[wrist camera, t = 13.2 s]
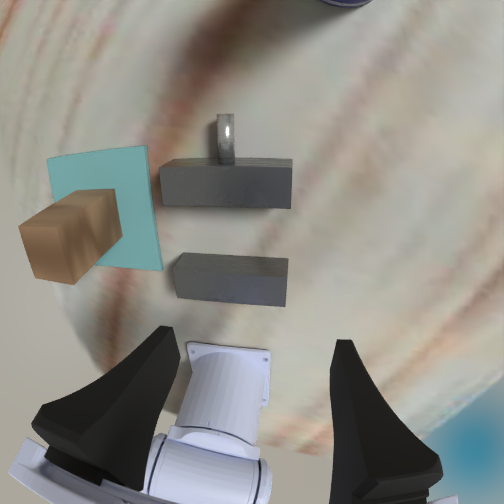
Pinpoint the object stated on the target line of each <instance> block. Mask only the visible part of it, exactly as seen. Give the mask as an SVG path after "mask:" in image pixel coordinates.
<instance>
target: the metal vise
mask: <svg viewBox="0 0 504 504" xmlns="http://www.w3.org/2000/svg"><path fill="white" fill-rule="evenodd" d="M217 136H218V158H187V159H173V160H171V161H169V162H168V163H166V164H164V165H162V166H161V167H159V173H160V183H161V192H162V200H163V205H174V206H228V207H258V208H281V209H291V191H292V159H276V158H235V151H234V114H217ZM287 274H288V259H286V258H268V257H251V256H233V255H216V254H199V253H183V254H182V256H181V257H180V259H179V260H178V262H177V263H176V265H175V266H174V268H173V276H174V282H175V287H176V293H177V298H184V299H193V300H204V301H214V302H226V303H238V304H250V305H264V306H279V307H285V304H286V290H287Z"/></svg>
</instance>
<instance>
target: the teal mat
mask: <svg viewBox="0 0 504 504" xmlns="http://www.w3.org/2000/svg"><path fill="white" fill-rule="evenodd" d="M47 166H48V172H49V177H50V183H51V188H52V193H53V198H54V202H57V201H59V200H60V199H62V198H64V197H65V196H67V195H69V194H71V193H72V192H74V191H76V190H90V189H115V194H116V200H117V206H118V212H119V218H120V224H121V229H122V234H123V237H121V238H120V239H119V240H118V241H117V242H116V243H115V244H114V245H113V246H112V247H111V248H110V249H109V250H108V251H107V252H106V253H105V254H104V255H103V256H102V257H101V258H100V259H99V260H98V261H97V262H96V263H95V264H94V265H102V266H112V267H123V268H134V269H145V270H156V271H162V270H163V264H162V258H161V252H160V246H159V240H158V234H157V227H156V221H155V214H154V206H153V199H152V191H151V183H150V174H149V165H148V155H147V145H146V146H135V147H125V148H116V149H107V150H99V151H92V152H85V153H78V154H72V155H66V156H60V157H54V158H49V159H47Z"/></svg>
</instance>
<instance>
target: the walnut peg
mask: <svg viewBox="0 0 504 504" xmlns="http://www.w3.org/2000/svg"><path fill="white" fill-rule="evenodd" d="M18 227H19V230H20V233H21V237H22V240H23V244H24V247H25V250H26V253H27V256H28V259H29V262H30V265H31V267H32V270H33V273H34V276H35V278H37V279H43V280H48V281H54V282H59V283H65V284H70V285H75V283H76V282H77V281H78V280H79V279H80V278H81V277H82V276H83V275H84V274H85V273H86V272H87V271H88V270H89V269H90V268H91V267H92V266H93V265H94V264H95V263H96V262H97V261H98V260H99V259H100V258H101V257H102V256H103V255H104V254H105V253H106V252H107V251H108V250H109V249H110V248H111V247H112V246H113V245H114V244H115V243H116V242H117V241H118V240H119V239H120V238H121V237H123V234H122V229H121V224H120V218H119V212H118V206H117V200H116V194H115V189H90V190H76V191H74V192H72V193H71V194H69V195H67V196H65V197H64V198H62V199H60V200H59V201H57V202H55V203H54V204H52V205H50V206H49V207H47V208H46V209H44V210H42V211H41V212H39V213H38V214H36V215H35V216H33V217H32V218H30V219H29V220H27V221H25V222H24V223H23V224H21V225H20V226H18Z"/></svg>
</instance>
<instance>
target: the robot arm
mask: <svg viewBox="0 0 504 504" xmlns="http://www.w3.org/2000/svg"><path fill="white" fill-rule="evenodd" d="M187 351H188V355H189V359H190V364H191V368H192V372H193V373H192V376H191V379H190V382H189V385H188V388H187V391H186V393H185V396H184V399H183V402H182V405H181V408H180V411H179V414H178V417H177V419H176V423H175V425H174V426H173V425H172V426H171V427H170V430H169V432H168V435H166V434H163V433H159V434H158V435H156V436H154V437H153V435H154V431H155V427H156V424H157V421H158V418H159V415H160V412H161V410H162V408H163V405H164V403H165V401H166V398H167V396H168V393H169V391H170V389H171V386H172V384H173V381H174V379H175V376H176V373H177V369H178V366H179V362H180V358H181V357H180V353H179V349H178V346H177V342H176V338H175V334H174V330H173V327H168V326H159V327H158V328H157V329H156V330H155V331H154V332H153V333H152V334H151V335H150V336H149V337H148V338H147V339H146V340H145V341H144V342H143V343H141V344H140V345H139V346H138V347H137V348H136V349H135V350H134V351H133V352H132V353H131V354H130V355H128V356H127V357H126V358H125V359H124V360H123V361H121V362H120V363H119V364H118V365H117V366H115V367H114V368H113V369H112V370H110V371H109V372H108V373H106V374H105V375H103V376H102V377H100V378H99V379H97V380H96V381H94V382H92V383H91V384H89V385H87V386H86V387H84V388H82V389H80V390H78V391H76V392H74V393H72V394H70V395H68V396H65V397H63V398H61V399H58V400H55V401H52V402H49V403H47V404H43V405H42V406H41V408H40V410H39V411H38V413H37V415H36V416H35V418H34V420H33V421H32V423H31V424H32V428H33V429H34V430H35V431H36V433H37V434H38V435H40V437H41V438H43V439H44V440H45V441H46V442H47V443H48V444H49V445H50V446H49V448H48V449H46V448H45V447H43V446H42V445H40V444H38V443H37V442H35V441H33V440H32V439H30V438H28V437H27V438H26V439H25V441H24V443H23V445H22V447H21V449H20V450H19V452H18V454H17V456H16V458H15V460H14V462H13V464H12V466H11V468H10V470H9V471H8V473H9V475H11V476H12V477H13V478H15V479H16V480H18V481H19V482H20V483H22V484H23V485H25V486H26V487H27V488H29V489H30V490H32V491H33V492H35V493H36V494H38V495H39V496H41V497H42V498H44V499H45V500H47V501H48V502H50V503H52V504H128V503H129V504H268V501H269V497H270V493H271V487H272V471H271V468H270V466H269V465H268V463H267V461H266V460H265V459H261V458H259V454H260V448H258V447H255V446H256V440H257V433H258V427H259V420H260V413H261V406H262V407H266V406H268V399H269V381H270V362H271V353H270V352H269V351H268V350H259V349H247V348H237V347H227V346H218V345H210V344H202V343H194V342H189V343H188V344H187ZM265 358H267V359H265ZM330 398H331V409H332V419H333V430H334V453H333V470H332V483H331V493H330V500H329V504H458V498H457V495H452V496H448V497H445V498H441V499H437V500H434V501H431V502H428V503H427V501H426V497H428V496H429V489H428V488H430V487H431V486H433V485H434V484H435V483H437V482H438V481H439V480H441V478H442V477H443V470H442V465H441V462H440V458H439V455H438V454H436V453H435V452H434V451H432V450H431V449H430V448H428V447H427V446H426V445H425V444H424V443H423V442H422V441H421V440H419V439H418V438H417V437H416V436H415V435H414V434H413V433H412V432H411V431H410V430H409V429H408V428H407V427H406V425H405V424H404V423H403V422H402V421H401V420H400V419H399V418H398V416H397V415H396V414H395V413H394V412H393V410H392V409H391V408H390V406H389V405H388V404H387V402H386V401H385V400H384V398H383V397H382V395H381V394H380V392H379V391H378V389H377V387H376V386H375V384H374V382H373V381H372V379H371V377H370V376H369V374H368V372H367V370H366V368H365V366H364V365H363V363H362V361H361V359H360V357H359V355H358V352H357V350H356V348H355V346H354V343H353V341H352V340H340V339H337V342H336V346H335V350H334V355H333V359H332V363H331V367H330Z"/></svg>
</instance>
